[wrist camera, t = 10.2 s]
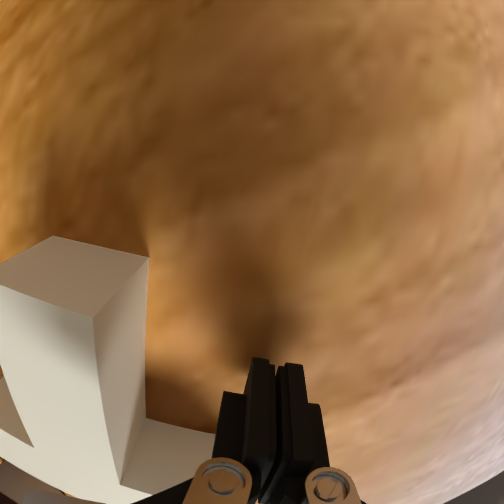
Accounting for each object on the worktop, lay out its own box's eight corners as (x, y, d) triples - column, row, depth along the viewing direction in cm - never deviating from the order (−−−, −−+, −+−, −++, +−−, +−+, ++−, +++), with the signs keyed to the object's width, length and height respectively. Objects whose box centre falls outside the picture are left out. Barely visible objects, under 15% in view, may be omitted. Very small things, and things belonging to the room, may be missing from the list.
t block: (270, 282, 10) (272, 359, 6) (220, 476, 14) (211, 536, 10) (-12, 219, 10) (-79, 248, 6) (29, 413, 14) (-1, 456, 10)
